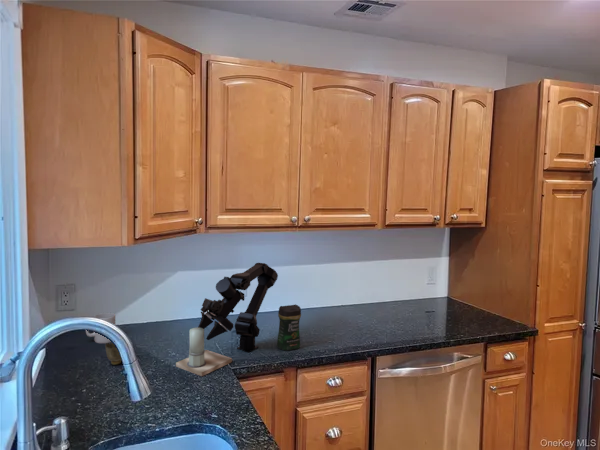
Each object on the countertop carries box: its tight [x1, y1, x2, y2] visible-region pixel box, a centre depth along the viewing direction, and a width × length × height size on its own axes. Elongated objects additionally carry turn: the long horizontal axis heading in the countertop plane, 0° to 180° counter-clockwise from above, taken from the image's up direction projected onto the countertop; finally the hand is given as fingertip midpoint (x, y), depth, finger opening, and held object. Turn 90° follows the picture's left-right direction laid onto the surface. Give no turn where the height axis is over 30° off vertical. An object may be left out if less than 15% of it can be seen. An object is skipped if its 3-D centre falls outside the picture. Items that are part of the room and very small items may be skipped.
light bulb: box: [188, 327, 206, 366], centre depth 167 cm, size 6×6×13 cm
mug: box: [85, 312, 116, 344], centre depth 192 cm, size 12×8×11 cm
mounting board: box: [175, 349, 233, 377], centre depth 171 cm, size 16×14×5 cm
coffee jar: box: [276, 304, 302, 351], centre depth 190 cm, size 10×8×19 cm
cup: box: [104, 342, 122, 366], centre depth 169 cm, size 8×7×8 cm
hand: (202, 335), depth 168 cm, fingers open, 9 cm apart
